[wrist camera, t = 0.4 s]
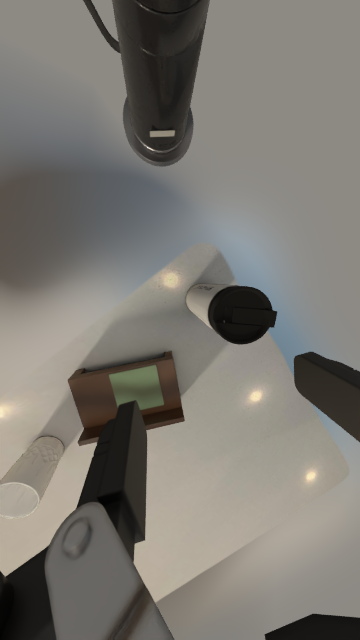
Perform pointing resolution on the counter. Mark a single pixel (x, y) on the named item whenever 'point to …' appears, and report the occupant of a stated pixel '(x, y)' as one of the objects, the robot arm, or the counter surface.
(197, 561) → the counter surface
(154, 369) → the wooden coaster base
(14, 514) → the white cup
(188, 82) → the robot arm
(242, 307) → the travel mug
